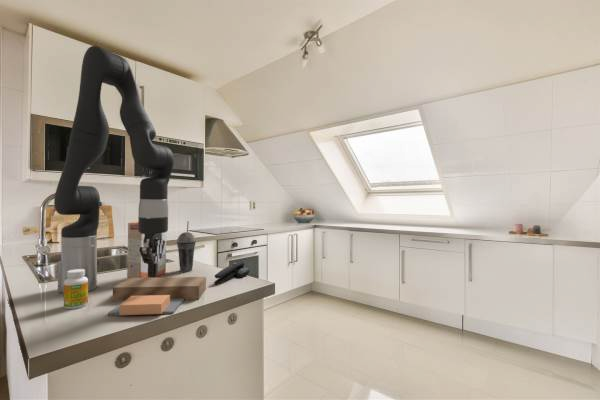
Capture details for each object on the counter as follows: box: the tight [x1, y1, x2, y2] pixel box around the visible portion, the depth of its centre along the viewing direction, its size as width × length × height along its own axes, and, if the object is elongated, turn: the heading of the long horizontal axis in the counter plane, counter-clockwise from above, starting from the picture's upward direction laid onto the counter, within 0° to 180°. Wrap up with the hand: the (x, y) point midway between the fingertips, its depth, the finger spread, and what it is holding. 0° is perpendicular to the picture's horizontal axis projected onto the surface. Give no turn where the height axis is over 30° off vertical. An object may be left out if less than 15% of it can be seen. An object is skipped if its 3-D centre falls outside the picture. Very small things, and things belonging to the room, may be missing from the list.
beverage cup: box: [176, 220, 196, 273], centre depth 122 cm, size 7×7×20 cm
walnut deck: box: [112, 276, 207, 302], centre depth 93 cm, size 24×10×4 cm, turn 96°
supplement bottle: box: [63, 269, 89, 310], centre depth 83 cm, size 5×5×10 cm
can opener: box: [213, 260, 251, 286], centre depth 112 cm, size 18×7×6 cm, turn 156°
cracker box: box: [126, 221, 167, 279], centre depth 111 cm, size 14×6×21 cm, turn 168°
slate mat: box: [107, 298, 185, 316], centre depth 82 cm, size 16×10×1 cm, turn 96°
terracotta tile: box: [118, 295, 170, 316], centre depth 79 cm, size 10×7×2 cm
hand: (152, 276), depth 85 cm, fingers closed
